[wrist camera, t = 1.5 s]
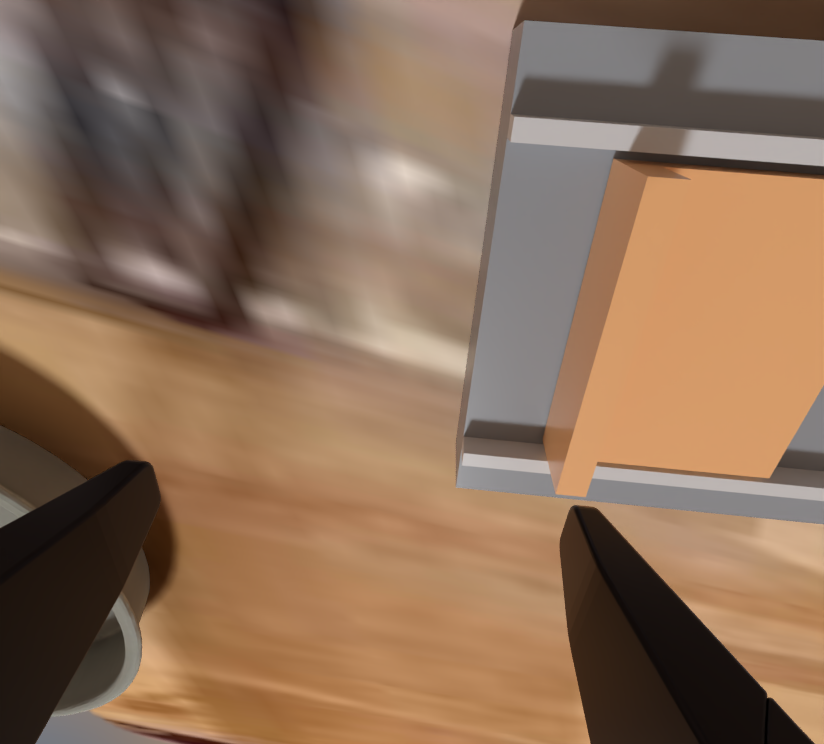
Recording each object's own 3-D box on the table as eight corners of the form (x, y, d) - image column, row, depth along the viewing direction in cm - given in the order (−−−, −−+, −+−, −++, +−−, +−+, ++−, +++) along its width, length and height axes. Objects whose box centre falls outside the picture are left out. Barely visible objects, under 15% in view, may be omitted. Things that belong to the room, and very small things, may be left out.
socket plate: (1276, 82, 14) (1534, 84, 11) (938, 489, 23) (1024, 562, 19) (512, 29, 15) (529, 15, 12) (455, 442, 23) (455, 504, 20)
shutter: (907, 181, 14) (1009, 204, 11) (754, 460, 19) (800, 518, 16) (613, 158, 14) (647, 176, 11) (542, 439, 19) (555, 494, 16)
